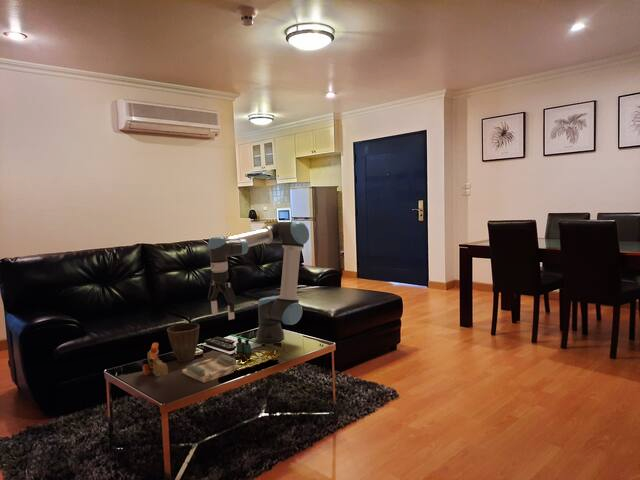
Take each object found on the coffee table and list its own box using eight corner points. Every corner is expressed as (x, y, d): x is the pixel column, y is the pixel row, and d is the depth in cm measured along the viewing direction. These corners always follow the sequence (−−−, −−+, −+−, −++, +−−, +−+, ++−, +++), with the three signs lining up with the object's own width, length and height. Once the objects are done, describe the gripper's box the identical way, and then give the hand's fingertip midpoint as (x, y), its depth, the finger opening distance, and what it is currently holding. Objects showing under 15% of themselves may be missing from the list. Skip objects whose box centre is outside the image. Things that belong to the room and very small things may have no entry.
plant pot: (176, 367, 204) (174, 333, 203) (164, 359, 216) (162, 327, 215) (206, 359, 214) (204, 327, 213) (193, 352, 225) (191, 321, 224)
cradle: (218, 360, 211) (218, 352, 211) (241, 369, 199) (240, 360, 198) (182, 372, 197) (181, 364, 197) (204, 382, 185) (203, 373, 185)
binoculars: (225, 344, 205) (239, 336, 214) (228, 365, 207) (241, 356, 215) (239, 346, 201) (253, 338, 209) (242, 368, 202) (256, 359, 211)
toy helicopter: (159, 368, 204) (157, 339, 203) (177, 381, 188) (174, 349, 187) (141, 373, 199) (139, 343, 198) (157, 386, 183) (155, 354, 182)
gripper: (197, 270, 207) (201, 314, 208) (228, 274, 189) (231, 323, 191) (211, 268, 212) (215, 311, 214) (242, 271, 194) (246, 319, 196)
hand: (223, 316), depth 202 cm, fingers open, 13 cm apart
